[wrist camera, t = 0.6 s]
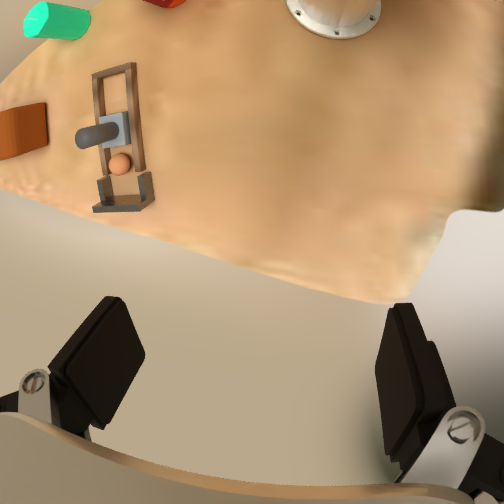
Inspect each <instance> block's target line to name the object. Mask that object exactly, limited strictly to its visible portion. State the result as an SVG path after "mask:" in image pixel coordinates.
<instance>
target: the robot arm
mask: <svg viewBox="0 0 504 504" xmlns="http://www.w3.org/2000/svg"><path fill="white" fill-rule="evenodd" d="M497 1H499V2H501V3H503V4H504V0H497ZM286 3H287V7H288V9H289V11H290V13H291V15H292V16H293V17H294V18H295V20H296V21H297V22H298V23H299V24H300V25H302V26H303V27H304V28H306V29H307V30H309V31H311V32H312V33H315V34H317V35H319V36H322V37H326V38H331V39H350V38H355V37H358V36H360V35H363V34H365V33H366V32H368V31H369V30H370V29H371V28H372V27H373V26H374V25H375V24H376V23H377V21H378V19H379V17H380V14H381V7H382V6H381V0H286ZM298 13H299V14H300V16H297V14H298ZM369 18H372V20H373V21H371V20H370V19H369ZM335 32H337V33H338V34H339V35H335ZM144 359H145V351H144V349H143V346H142V344H141V342H140V339H139V337H138V334H137V332H136V329H135V327H134V325H133V322H132V319H131V317H130V315H129V312H128V309H127V306H126V304H125V303H124V301H122V299H121V298H119V297H113V296H106V297H104V298H103V299H102V301H101V302H100V303H99V304H98V305H97V306H96V307H95V309H94V310H93V311H92V312H91V313H90V315H89V316H88V317H87V318H86V319H85V320H84V322H83V323H82V324H81V325H80V327H79V328H78V329H77V330H76V331H75V333H74V334H73V335H72V336H71V337H70V339H69V340H68V341H67V342H66V344H65V345H64V346H63V347H62V349H61V350H60V351H59V353H58V354H57V355H56V356H55V358H54V359H53V360H52V362H51V363H50V364H49V365H48V368H49V370H50V371H51V373H50V375H49V374H48V373H47V372H46V371H45V370H43V369H35V370H32V371H30V372H29V373H27V374H26V375H25V376H24V377H23V378H22V380H21V382H20V386H19V391H16V392H14V393H11V394H8V395H5V396H3V397H0V504H504V444H503V443H501V442H499V441H498V440H496V439H494V438H492V437H490V436H489V435H487V434H485V422H484V420H483V417H482V416H481V415H480V414H479V412H478V411H476V410H475V409H473V408H470V407H467V406H458V407H456V403H455V401H454V397H453V394H452V390H451V387H450V384H449V381H448V378H447V375H446V373H445V370H444V367H443V364H442V361H441V358H440V356H439V353H438V350H437V348H436V345H435V343H434V342H433V341H427V339H426V336H425V333H424V331H423V328H422V326H421V323H420V321H419V318H418V316H417V313H416V311H415V308H414V306H413V304H412V303H396V304H395V305H394V307H393V308H390V309H389V310H388V314H387V318H386V323H385V328H384V332H383V336H382V340H381V344H380V349H379V352H378V356H377V360H376V364H375V376H376V382H377V389H378V396H379V403H380V411H381V419H382V429H383V438H384V449H385V454H386V455H390V459H391V462H400V469H401V470H403V471H402V472H401V474H400V475H399V476H398V477H397V479H396V480H395V481H394V483H388V484H371V485H353V486H352V485H351V486H294V485H293V486H292V485H276V484H264V483H253V482H245V481H238V480H230V479H224V478H218V477H212V476H206V475H201V474H196V473H192V472H187V471H182V470H178V469H174V468H170V467H166V466H163V465H159V464H155V463H152V462H148V461H145V460H142V459H138V458H135V457H132V456H129V455H126V454H123V453H120V452H117V451H114V450H112V449H109V448H106V447H103V446H101V445H98V444H96V443H93V442H92V441H91V437H90V433H89V428H88V427H89V425H90V424H91V425H92V426H93V427H96V428H99V429H101V430H104V428H105V426H106V424H109V423H110V422H111V420H112V418H113V416H114V414H115V412H116V411H117V409H118V407H119V405H120V403H121V401H122V399H123V397H124V396H125V394H126V392H127V390H128V388H129V386H130V385H131V383H132V381H133V379H134V377H135V376H136V374H137V372H138V370H139V368H140V367H141V365H142V363H143V361H144Z"/></svg>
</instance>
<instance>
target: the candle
mask: <svg viewBox="0 0 504 504" xmlns="http://www.w3.org/2000/svg"><path fill="white" fill-rule="evenodd" d="M90 20H91V15H90V13H89V12H88V11H87V10H83V9H79V8H74V7H69V6H64V5H60V4H54V3H48V2H40V3H38V4H37V5H35V6H34V7H33V8H32V9H31V10H30V12H29V13H28V14H27V16H26V18H25V20H24V21H23V31H24V34H25V36H27V37H30V38H52V39H65V40H76V39H78V38H80V37H81V36H82V35H83V34H84V33H85V32H86V31H87V29H88V27H89V25H90Z"/></svg>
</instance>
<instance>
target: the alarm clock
mask: <svg viewBox="0 0 504 504" xmlns="http://www.w3.org/2000/svg"><path fill="white" fill-rule="evenodd" d="M46 145H47V132H46V119H45V104H44V103H37V104H31V105H26V106H21V107H16V108H12V109H9V110H6V111H3V112H1V113H0V160H4V159H9V158H13V157H16V156H19V155H21V154H24V153H27V152H30V151H32V150H35V149H38V148H41V147H44V146H46Z"/></svg>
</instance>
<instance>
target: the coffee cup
mask: <svg viewBox="0 0 504 504" xmlns="http://www.w3.org/2000/svg"><path fill="white" fill-rule="evenodd" d="M144 1H146V2H149V3H152V4H155V5H157V6H160V7H164V8H172V7H175V6H178V5H180V4H182V3H183V2H184V1H185V0H144Z"/></svg>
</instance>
